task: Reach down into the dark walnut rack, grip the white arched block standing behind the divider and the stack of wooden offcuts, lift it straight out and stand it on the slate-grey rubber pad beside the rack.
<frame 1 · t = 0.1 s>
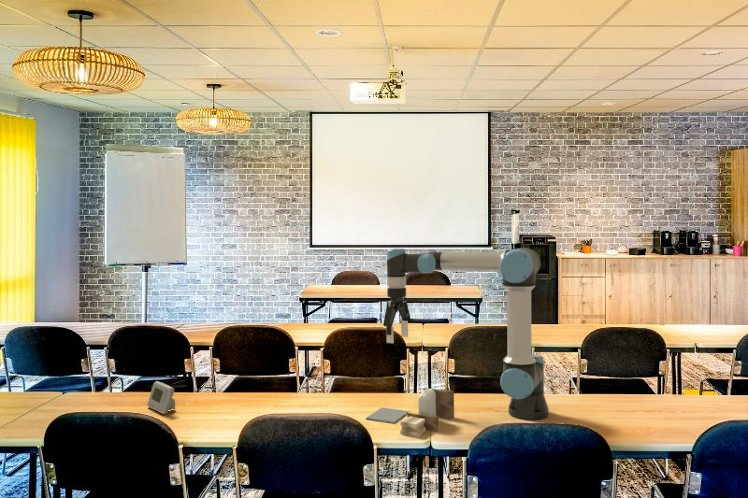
hand: (397, 339, 246), 28 cm above the table, tool pointing down, fingers open, 13 cm apart
offcut stack: (413, 432, 220), on the table
white arched block: (427, 423, 229), on the table
digital clock: (161, 410, 252), on the table
slate pad: (387, 415, 238), on the table
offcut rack: (430, 422, 229), on the table
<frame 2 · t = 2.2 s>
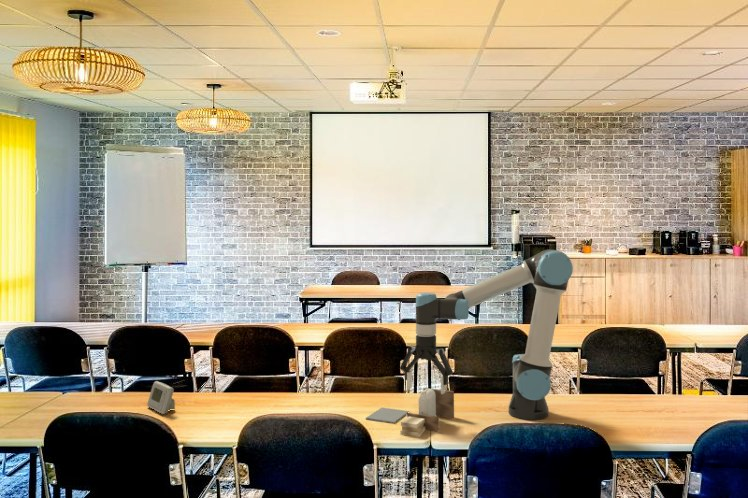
hand: (426, 391, 229), 12 cm above the table, tool pointing down, fingers open, 13 cm apart
nothing on the table moved.
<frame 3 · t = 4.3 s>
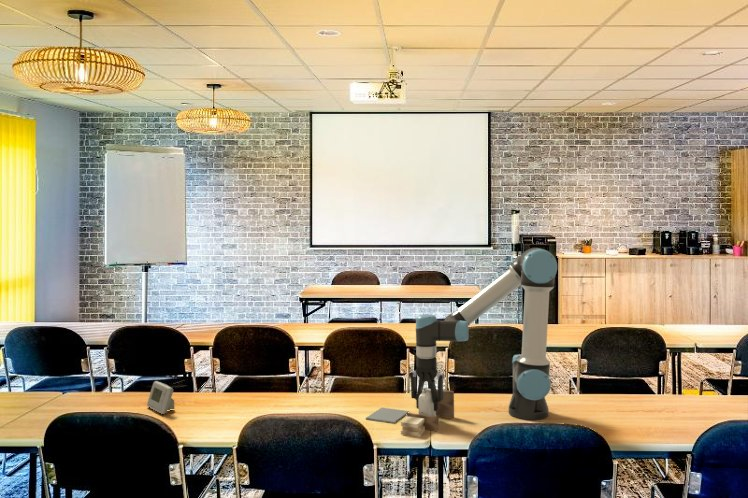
hand: (427, 418, 229), 2 cm above the table, tool pointing down, fingers closed on white arched block, 4 cm apart
white arched block: (427, 423, 229), on the table, touching gripper
everything else where it was.
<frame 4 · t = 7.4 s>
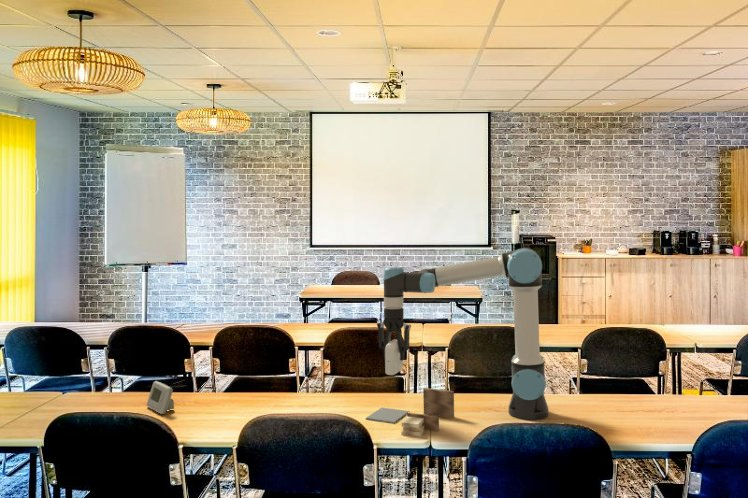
hand: (394, 367, 235), 19 cm above the table, tool pointing down, fingers closed on white arched block, 4 cm apart
white arched block: (394, 372, 235), point 17 cm above the table, touching gripper
everything else where it was.
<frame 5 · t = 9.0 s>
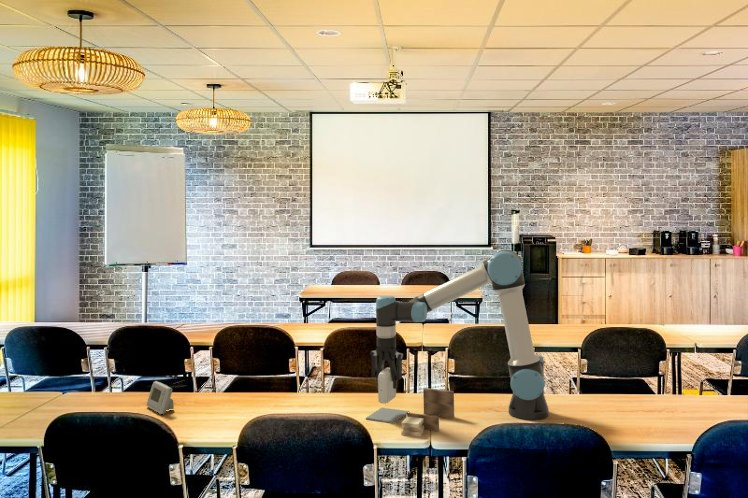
hand: (387, 395, 238), 8 cm above the table, tool pointing down, fingers closed on white arched block, 4 cm apart
white arched block: (387, 400, 238), point 6 cm above the table, touching gripper
everything else where it was.
when the fingers open (3 cm above the table, at t = 10.5 s): white arched block drops 1 cm, resting on slate pad.
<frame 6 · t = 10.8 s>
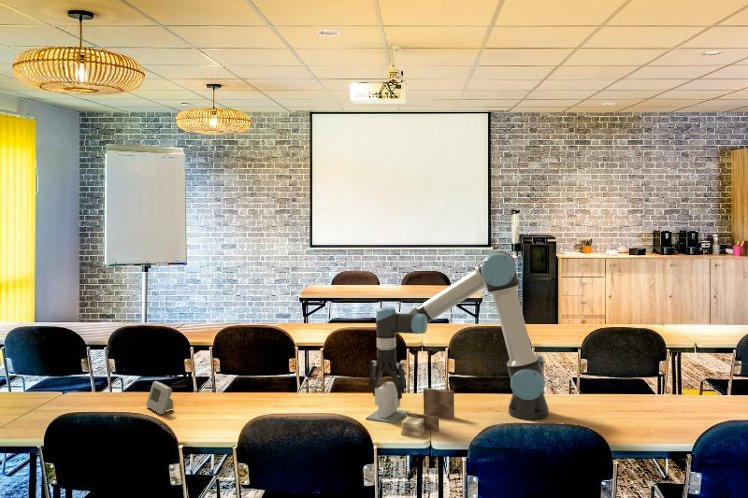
hand: (387, 405, 238), 4 cm above the table, tool pointing down, fingers open, 8 cm apart
white arched block: (387, 414, 238), resting on slate pad
everything else where it was.
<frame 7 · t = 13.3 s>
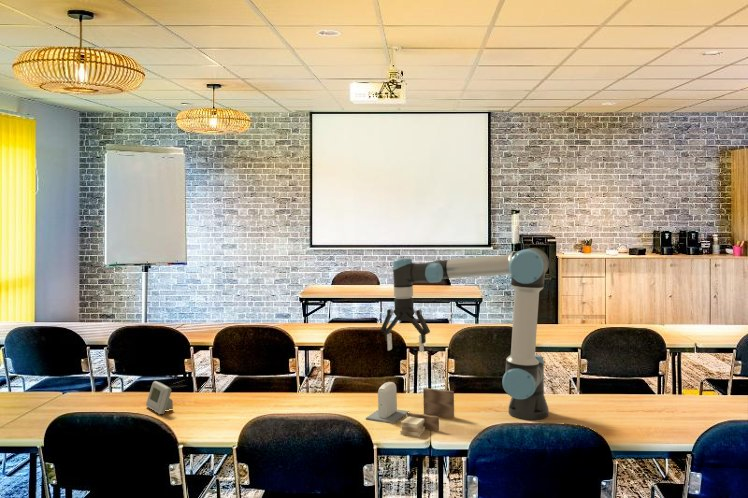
hand: (405, 350, 243), 24 cm above the table, tool pointing down, fingers open, 13 cm apart
nothing on the table moved.
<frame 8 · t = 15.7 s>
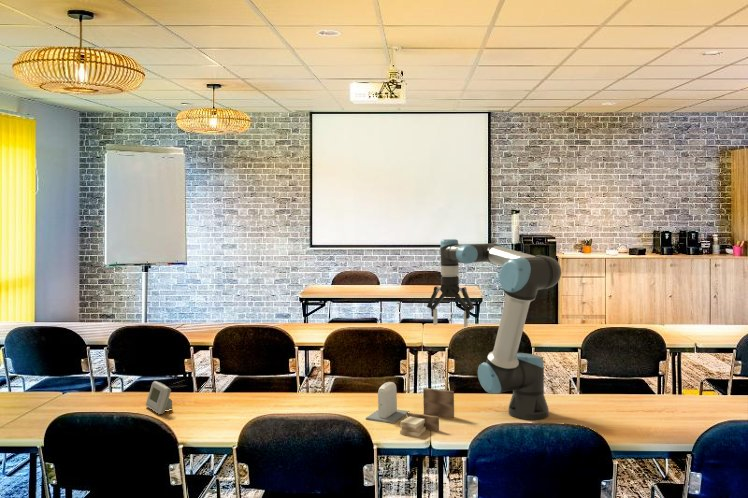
hand: (450, 325, 260), 31 cm above the table, tool pointing down, fingers open, 13 cm apart
at the end: white arched block inside the target area on the slate pad (0.0 cm from its centre), point 0.4 cm above the slate pad's base; white arched block tilted 0°; offcut stack moved 0.3 cm from its start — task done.
